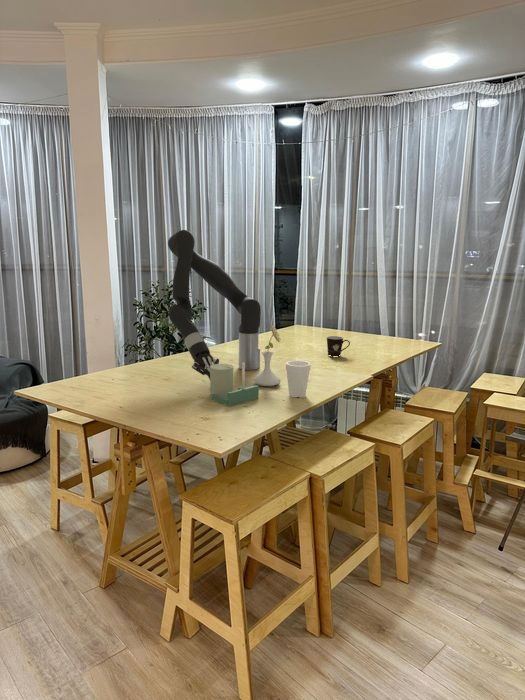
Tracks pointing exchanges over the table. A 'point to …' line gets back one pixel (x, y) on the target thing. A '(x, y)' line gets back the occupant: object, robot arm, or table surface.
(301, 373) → the foam cup
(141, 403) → the table surface
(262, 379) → the flower in vase
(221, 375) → the can
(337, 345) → the coffee mug
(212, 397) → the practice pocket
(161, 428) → the table surface
